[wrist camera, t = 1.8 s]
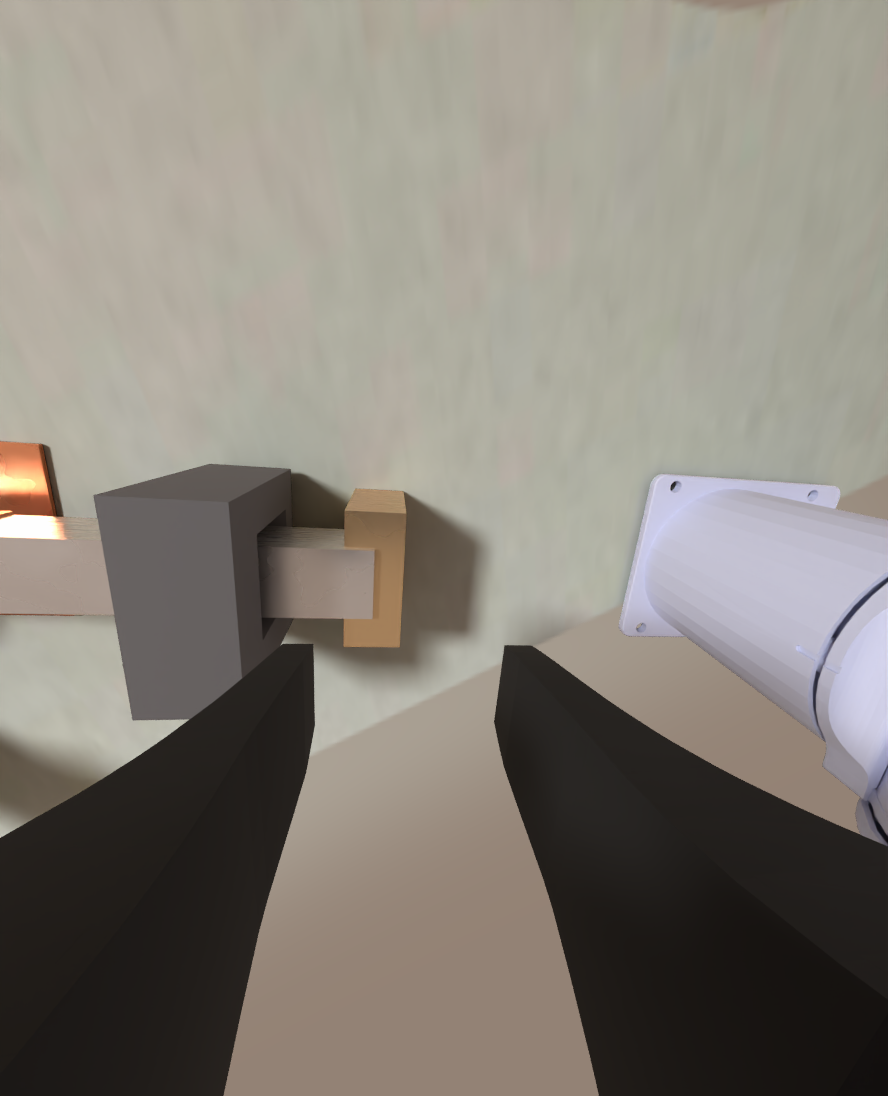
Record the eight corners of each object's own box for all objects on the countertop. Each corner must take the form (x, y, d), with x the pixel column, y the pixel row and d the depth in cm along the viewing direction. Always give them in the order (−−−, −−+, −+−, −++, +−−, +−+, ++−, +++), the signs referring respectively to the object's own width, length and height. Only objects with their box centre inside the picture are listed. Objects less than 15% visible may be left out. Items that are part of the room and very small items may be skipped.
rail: (404, 467, 17) (408, 485, 13) (397, 618, 19) (398, 676, 15) (-234, 426, 14) (-502, 431, 10) (-162, 609, 16) (-359, 679, 12)
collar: (290, 468, 16) (228, 501, 10) (295, 614, 18) (244, 718, 12) (209, 463, 16) (93, 495, 10) (223, 613, 18) (132, 720, 12)
